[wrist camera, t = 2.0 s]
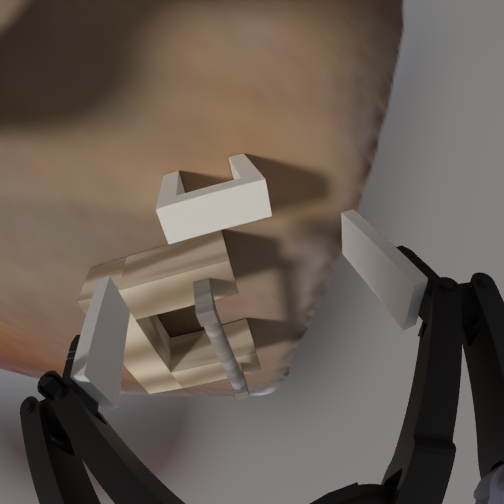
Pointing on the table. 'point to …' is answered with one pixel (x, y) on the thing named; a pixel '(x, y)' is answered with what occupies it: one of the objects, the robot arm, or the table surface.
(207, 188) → the white u-shaped bracket
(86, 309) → the c-clamp
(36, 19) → the table surface
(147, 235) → the table surface
